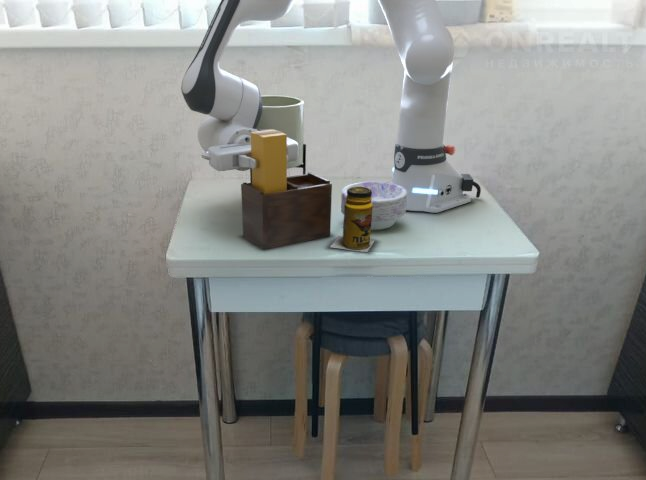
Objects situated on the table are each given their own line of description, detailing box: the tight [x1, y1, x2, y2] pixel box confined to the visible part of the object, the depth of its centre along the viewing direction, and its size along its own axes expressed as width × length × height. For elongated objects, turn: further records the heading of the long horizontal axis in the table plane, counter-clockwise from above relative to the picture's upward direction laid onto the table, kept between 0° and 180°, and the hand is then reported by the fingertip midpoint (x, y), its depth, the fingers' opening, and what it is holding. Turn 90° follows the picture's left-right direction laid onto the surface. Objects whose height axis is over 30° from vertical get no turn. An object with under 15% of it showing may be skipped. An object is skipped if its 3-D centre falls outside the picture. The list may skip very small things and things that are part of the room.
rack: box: [240, 171, 333, 250], centre depth 155 cm, size 17×10×12 cm, turn 121°
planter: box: [249, 94, 307, 183], centre depth 174 cm, size 15×16×23 cm
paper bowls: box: [340, 181, 407, 231], centre depth 163 cm, size 15×15×8 cm
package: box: [251, 129, 288, 194], centre depth 147 cm, size 6×6×12 cm
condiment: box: [329, 187, 375, 253], centre depth 151 cm, size 7×8×12 cm
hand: (271, 162), depth 146 cm, fingers closed on package, 5 cm apart
